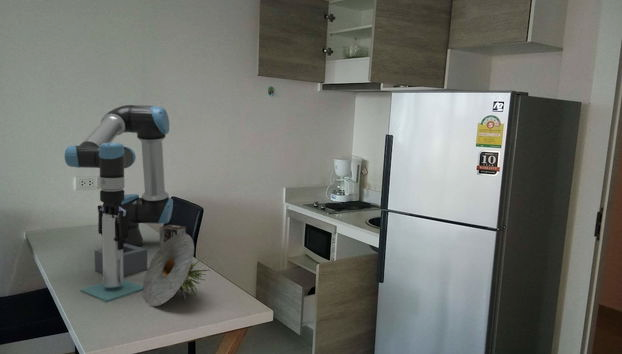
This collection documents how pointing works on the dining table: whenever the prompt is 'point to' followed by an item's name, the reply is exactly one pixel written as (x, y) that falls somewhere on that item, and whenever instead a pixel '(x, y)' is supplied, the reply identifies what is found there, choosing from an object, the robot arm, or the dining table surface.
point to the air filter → (110, 253)
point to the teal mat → (112, 291)
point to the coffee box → (170, 232)
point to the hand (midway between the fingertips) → (113, 256)
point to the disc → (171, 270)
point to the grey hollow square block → (126, 259)
